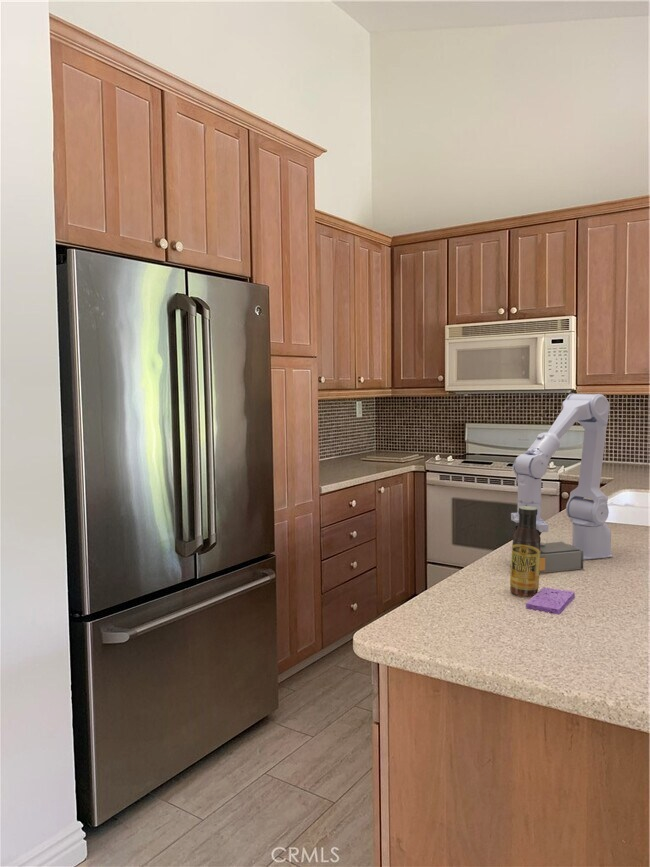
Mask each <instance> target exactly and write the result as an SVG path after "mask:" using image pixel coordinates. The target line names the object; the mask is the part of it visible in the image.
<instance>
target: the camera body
mask: <svg viewBox="0 0 650 867" xmlns="http://www.w3.org/2000/svg"><path fill="white" fill-rule="evenodd" d="M574 551H580V549H578V548H575V547H573V546H572V545H570V544H568V543H565V542H562V541H556V542H555V541H554V542H540V554H552V553H563V552H574Z"/></svg>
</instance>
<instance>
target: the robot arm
mask: <svg viewBox="0 0 650 867" xmlns="http://www.w3.org/2000/svg"><path fill="white" fill-rule="evenodd" d="M561 405H562V406H561V408H562V410H561V411H560V413H559V414H558V416H557V418H556V419H555V421H554V422H553V423H552V425H551V426H550V428H549V429H548V431H546V432H541V433H538V435H537V436H536V438H535V440H534V441H533V442H532V443H531V445H530V446H529V448H528V449H527V450H526V451H525V452H524V453H522V454H519V455H518V456H517V457H516V458H515V459H514V461H513V464H512V470H513V472H514V474H515V481H516V483H517V508H516V509H517V512H510V520H511V521H512V522H515V523H516V524H517V523H518V524H519V507H520V506H531V507H535V508H537V516H536V530H537V532H538V533H539V536H540V537H541V535H542V533H549V524H548V523H546V521H544V519H542V477H543V476H544V475H546V474H547V470H548V465H549V463H550V459H551V458H552V457H553V456H554V454H555V453H556V452H557V451H558V450H559V448H560V445H561V443H560V439H562V437H564V435H565V434H566V433H567V431H569V430H570V429H571V427H572V426H574V424H575V423H578V424H580V425H581V427H582V428H583V429H584V435H583V442H582V452H581V459H580V460H581V461H580V469H579V478H578V485H577V487H576V488H574V489H573V490H571V491H570V493H569V498H568V500H567V503H566V504H565V505H566V506H565V512H566V515H567V517H568V518H570V522H571V523H572V541H571V543H572V545H571V546H573V547H575V548H578V549H580V551H584V554H583V561H584V560H586V561H587V560H594V559H595V560H596V559H604V558H605V559H606V558H613V557H614V556H613V554H612V531H611V527H610V525H609V524H607V523H606V521H607V520H608V518H609V514H610V512H609V507H608V499H609V498H608V496H607V495H606V494H605V492H603V491H602V490H601V488H600V486H601V479H602V478H601V477H602V471H603V470H602V469H603V461H604V453H605V444H606V438H607V437H606V435H607V429H608V428H607V427H608V423H609V422H608V421H609V414H610V407H611V406H610V405H611V404H610V402H609V400H608V399H607V398H606V396H605V395H604V394H603V393H596V394H595V393H594V394H590V393H588V394H587V393H586V394H585V393H574V392H573V393H569V394H568V395H567V396H566V398H565V400H563V401H562V404H561ZM518 526H519V525H515V526H514V530H516V529H517V528H518Z"/></svg>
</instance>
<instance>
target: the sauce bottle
mask: <svg viewBox="0 0 650 867" xmlns="http://www.w3.org/2000/svg"><path fill="white" fill-rule="evenodd" d="M536 516H537V508H535V507H531V506H520V507H519V523H518V524H517V526H518V528H517V529H515V531H514V532H513V536H512V546H511V555H510V556H511V557H510V559H511V560H510V574H509V575H510V576H509V578H510V579H509V585H510V590H509V591H510V592H511V593H512V594H513V595H516V596H520V597H528V598H529V597H530V598H532V597H533V596H534V595H535V594H536V593H538V592H539V588H540V586H539V585H540V573H539V568H540V543H541V535H540V536H539V533H538V532H537V530H536Z"/></svg>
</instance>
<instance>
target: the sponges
mask: <svg viewBox="0 0 650 867" xmlns="http://www.w3.org/2000/svg"><path fill="white" fill-rule="evenodd" d="M575 598H576V597H575V591H573V590H566V589H564V590H562V589H559V588H552V587H545V586H543V587H542V588H541V589H540V590H538V593H536V594H535V595H534V596H531V597H530V599H529V600H528V601H526V603H525V607H526V609H528V610H531V609H533V610H532V611H536V610H539V611H538V612H542V611H545V612H544V613H548V612H549V613H548V614H555V615H560V614H562V612H563V610H565V608H566V607H567V606H568V605H569V604H570V603H571V602H573V600H574V599H575Z"/></svg>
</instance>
